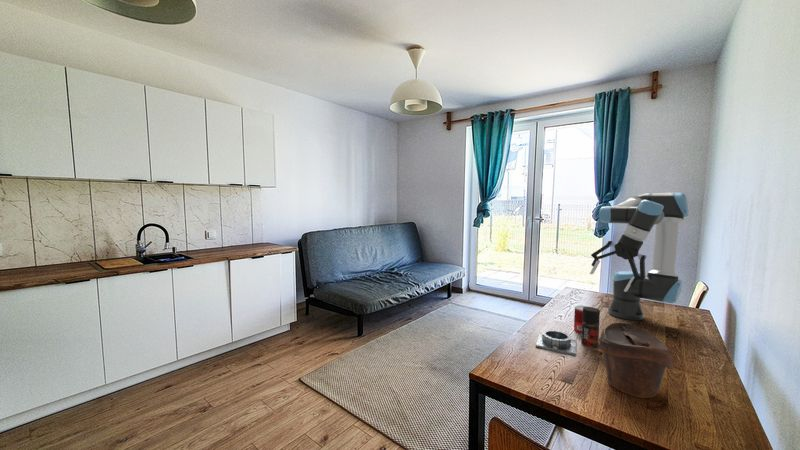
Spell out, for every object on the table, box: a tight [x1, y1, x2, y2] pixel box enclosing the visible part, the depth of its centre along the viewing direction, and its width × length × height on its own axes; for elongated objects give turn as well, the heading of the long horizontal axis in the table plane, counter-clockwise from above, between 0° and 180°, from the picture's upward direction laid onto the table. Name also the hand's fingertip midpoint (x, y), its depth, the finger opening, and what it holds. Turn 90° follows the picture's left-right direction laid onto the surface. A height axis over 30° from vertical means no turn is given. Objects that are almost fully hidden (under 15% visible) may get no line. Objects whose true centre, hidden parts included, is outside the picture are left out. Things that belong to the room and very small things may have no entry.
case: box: [598, 322, 675, 399], centre depth 98 cm, size 18×20×18 cm
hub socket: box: [535, 329, 577, 356], centre depth 128 cm, size 14×14×4 cm
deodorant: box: [581, 306, 601, 349], centre depth 128 cm, size 6×6×15 cm
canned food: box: [573, 305, 589, 335], centre depth 141 cm, size 8×8×11 cm
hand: (607, 282), depth 132 cm, fingers open, 13 cm apart
